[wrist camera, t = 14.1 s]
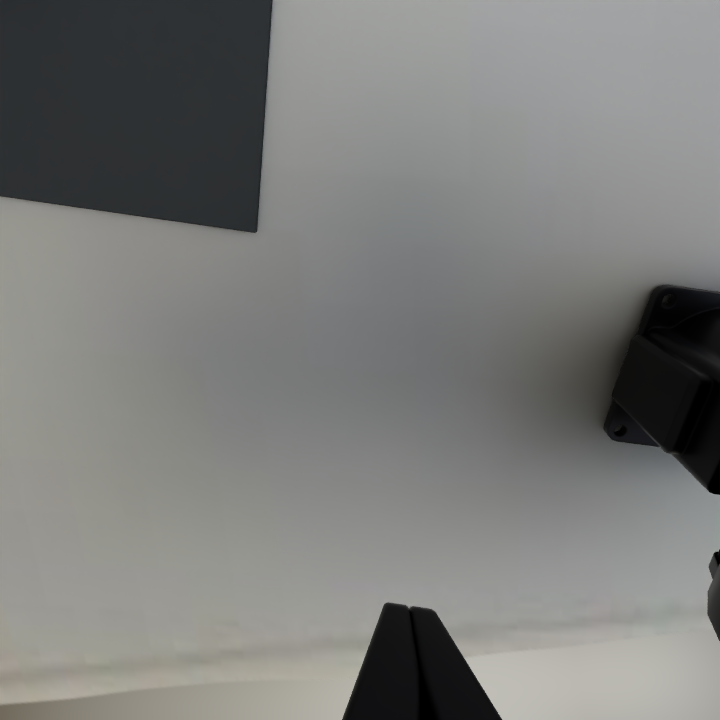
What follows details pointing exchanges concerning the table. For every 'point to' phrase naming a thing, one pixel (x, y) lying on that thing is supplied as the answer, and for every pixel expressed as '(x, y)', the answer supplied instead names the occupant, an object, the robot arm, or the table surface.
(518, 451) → the table surface
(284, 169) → the table surface
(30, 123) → the desk mat
